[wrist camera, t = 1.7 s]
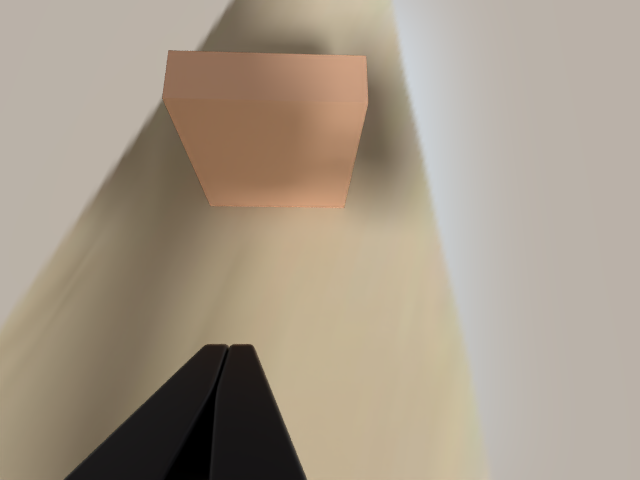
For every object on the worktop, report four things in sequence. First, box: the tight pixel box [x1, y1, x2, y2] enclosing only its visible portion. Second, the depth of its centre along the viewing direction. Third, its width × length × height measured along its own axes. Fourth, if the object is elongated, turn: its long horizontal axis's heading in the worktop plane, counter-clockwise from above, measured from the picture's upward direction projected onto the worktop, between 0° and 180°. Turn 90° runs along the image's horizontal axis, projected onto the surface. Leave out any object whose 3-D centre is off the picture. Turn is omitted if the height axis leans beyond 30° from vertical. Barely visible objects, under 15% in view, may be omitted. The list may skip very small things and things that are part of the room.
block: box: [162, 50, 368, 208], centre depth 20 cm, size 2×7×9 cm, turn 90°
